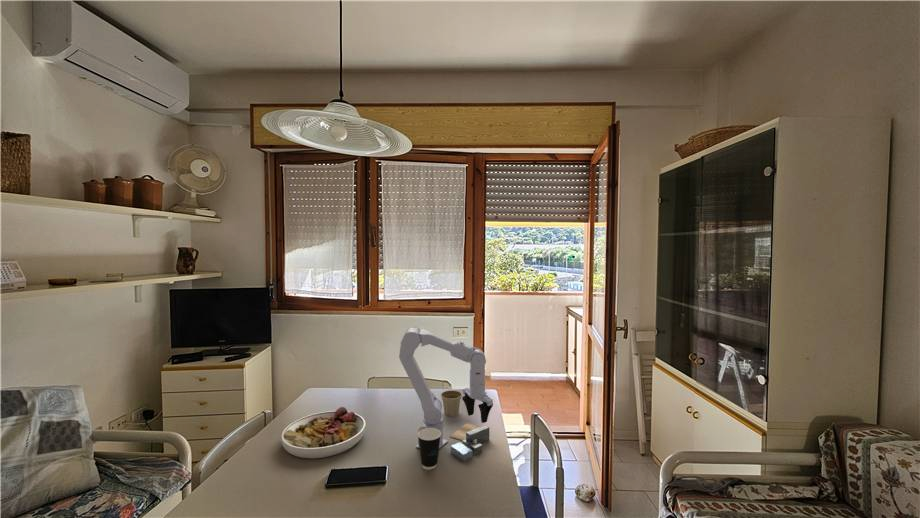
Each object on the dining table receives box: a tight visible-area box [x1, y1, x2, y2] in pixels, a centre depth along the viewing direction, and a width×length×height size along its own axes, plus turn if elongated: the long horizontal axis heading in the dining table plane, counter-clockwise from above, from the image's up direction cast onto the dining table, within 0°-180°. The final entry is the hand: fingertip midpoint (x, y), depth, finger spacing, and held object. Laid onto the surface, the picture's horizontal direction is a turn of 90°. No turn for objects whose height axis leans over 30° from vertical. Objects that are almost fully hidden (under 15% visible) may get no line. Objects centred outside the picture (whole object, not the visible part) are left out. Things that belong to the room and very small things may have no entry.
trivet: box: [449, 422, 481, 442], centre depth 150 cm, size 13×9×1 cm
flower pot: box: [440, 389, 463, 417], centre depth 167 cm, size 9×9×9 cm
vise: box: [450, 439, 477, 462], centre depth 136 cm, size 9×7×4 cm
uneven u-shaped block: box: [462, 424, 490, 456], centre depth 140 cm, size 11×7×5 cm, turn 129°
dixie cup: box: [417, 428, 441, 471], centre depth 128 cm, size 8×8×11 cm
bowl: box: [280, 406, 367, 459], centre depth 145 cm, size 30×30×8 cm
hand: (477, 418), depth 142 cm, fingers open, 7 cm apart
